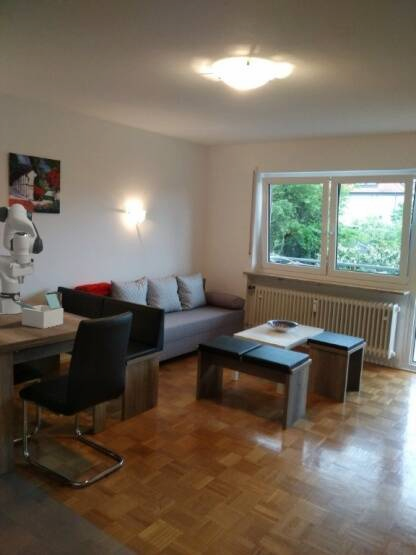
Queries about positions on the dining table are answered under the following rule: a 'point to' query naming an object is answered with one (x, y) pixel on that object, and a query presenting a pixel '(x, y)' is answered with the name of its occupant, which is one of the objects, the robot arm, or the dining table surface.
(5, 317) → the dining table surface
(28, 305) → the teal flap long
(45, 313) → the carton
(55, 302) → the teal flap short
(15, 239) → the robot arm
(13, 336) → the dining table surface
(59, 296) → the coffee box
